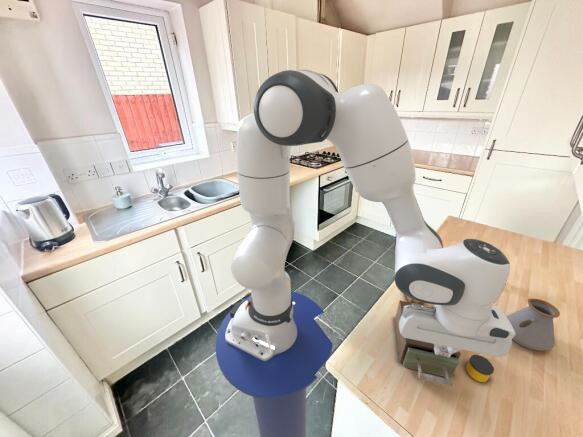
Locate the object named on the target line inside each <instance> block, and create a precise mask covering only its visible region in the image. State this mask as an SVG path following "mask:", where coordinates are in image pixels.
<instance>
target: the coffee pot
mask: <svg viewBox="0 0 583 437" xmlns="http://www.w3.org/2000/svg"><path fill="white" fill-rule="evenodd" d="M527 305H528V306H525V307H524V308H521V309H519V310H516V311H514V312H512V313H510V314H507V315H506V316H507V318H508V320H509V321H510V323H511V325H512V327H513V329H514V331H515V333H516V335H515V336H514V338H512V341H514V342H515V343H516V344H518V345H520V346H521V347H524V348H526V349H530V350H535V351H541V352H543V351H548V350H551V349H553V348H554V347H555V345H556V339H555V327H554V319H555V318H556V319H557V318H558V317H560V315H561V312H560V311H559V309H558V308H557V307H556V306H555V305H553V304H552V303H551V302H548V301H546V300H544V299H540V298H534V297H533V298H532V297H531V298H530V297H529V298H527Z"/></svg>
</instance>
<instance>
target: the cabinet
mask: <svg viewBox="0 0 583 437" xmlns="http://www.w3.org/2000/svg"><path fill="white" fill-rule="evenodd" d="M411 304H417V303H411V302H409V301H404V300H399V302H398V306H397V308H396V309H397V310H396V313H395V317H394V323H395V324H394V325H395V332H396V333H395V334H396V341H397V349H398V360H399V363H402V364H403V361H404V358H405V355H406V352H407V349H408V346H409V345H410V346H415V347H419V348H424V349H428V350H433V351H434V344H433V343H428V342H423V341H418V340H414V339H409V338H404V337H403V336H402V335H401V334H400V330H399V321H400V318H401V316H402V310H403V307H404V306H406V305H411ZM419 305H423V304H419ZM425 305H426V306H429V305H428V304H425ZM431 306H432V305H431ZM432 307H434V305H433V306H432ZM451 355H452V356H451V357H454V358H458V360H460V357H461V356H462V353H461V350H460V351H458V352H456V353H453V354H451Z"/></svg>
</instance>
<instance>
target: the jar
mask: <svg viewBox="0 0 583 437" xmlns="http://www.w3.org/2000/svg"><path fill="white" fill-rule="evenodd" d="M465 370H466V372H467V374H468V375H469V376H470V377H471V378H472V379H473V380H475V381H477V382H479V383H486V382H488V380H489V379H490V377H491V375H493V374H494V372H495V369H494V365H493V363H491V361H490V360H489V359H487V357H484V356H483V355H480V354H472V355H470V358H469V360H468V361H467V364H466V366H465Z"/></svg>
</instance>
